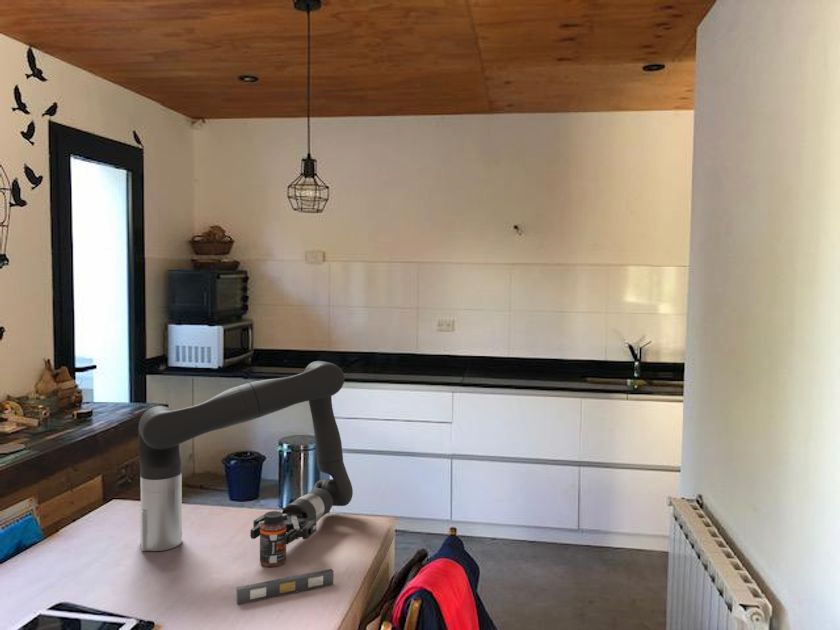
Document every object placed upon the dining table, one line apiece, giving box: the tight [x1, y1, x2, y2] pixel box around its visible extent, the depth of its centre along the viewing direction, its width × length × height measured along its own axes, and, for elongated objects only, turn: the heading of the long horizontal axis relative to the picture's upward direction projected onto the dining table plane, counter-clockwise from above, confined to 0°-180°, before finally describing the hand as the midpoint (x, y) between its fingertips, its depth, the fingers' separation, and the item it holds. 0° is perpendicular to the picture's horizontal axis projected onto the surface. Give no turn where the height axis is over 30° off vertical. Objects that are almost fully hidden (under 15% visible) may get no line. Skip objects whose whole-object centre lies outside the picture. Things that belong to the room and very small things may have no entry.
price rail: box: [236, 568, 335, 605], centre depth 135 cm, size 20×2×3 cm, turn 116°
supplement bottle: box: [259, 510, 287, 568], centre depth 149 cm, size 6×6×11 cm
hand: (268, 537), depth 147 cm, fingers open, 8 cm apart
